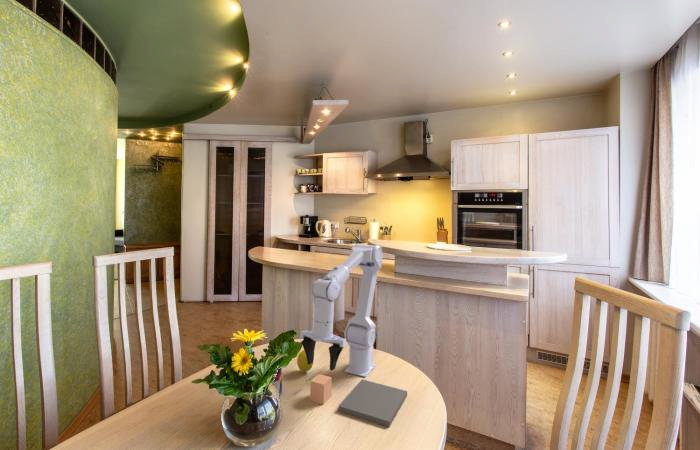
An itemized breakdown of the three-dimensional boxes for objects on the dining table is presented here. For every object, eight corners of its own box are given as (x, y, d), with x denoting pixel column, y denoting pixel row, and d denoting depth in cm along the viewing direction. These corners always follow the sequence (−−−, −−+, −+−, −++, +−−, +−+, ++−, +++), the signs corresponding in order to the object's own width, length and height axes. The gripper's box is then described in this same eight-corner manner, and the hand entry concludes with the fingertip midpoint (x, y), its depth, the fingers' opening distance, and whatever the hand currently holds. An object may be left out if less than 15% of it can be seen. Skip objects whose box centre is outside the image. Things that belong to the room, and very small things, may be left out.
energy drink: (277, 401, 97) (277, 361, 96) (260, 398, 98) (260, 359, 97) (284, 391, 102) (284, 353, 101) (268, 389, 103) (268, 351, 102)
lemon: (316, 371, 115) (316, 348, 114) (306, 377, 110) (306, 354, 109) (304, 366, 117) (304, 344, 117) (293, 373, 113) (293, 350, 112)
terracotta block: (318, 392, 101) (318, 373, 101) (331, 396, 99) (331, 377, 99) (310, 400, 97) (310, 380, 97) (323, 404, 95) (323, 384, 95)
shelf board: (361, 383, 106) (361, 379, 106) (407, 395, 100) (407, 391, 100) (338, 411, 92) (338, 405, 92) (389, 427, 86) (389, 421, 85)
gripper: (295, 319, 97) (293, 365, 97) (338, 328, 91) (336, 377, 91) (308, 314, 103) (306, 357, 103) (350, 321, 97) (347, 368, 97)
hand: (321, 366), depth 97 cm, fingers open, 7 cm apart
